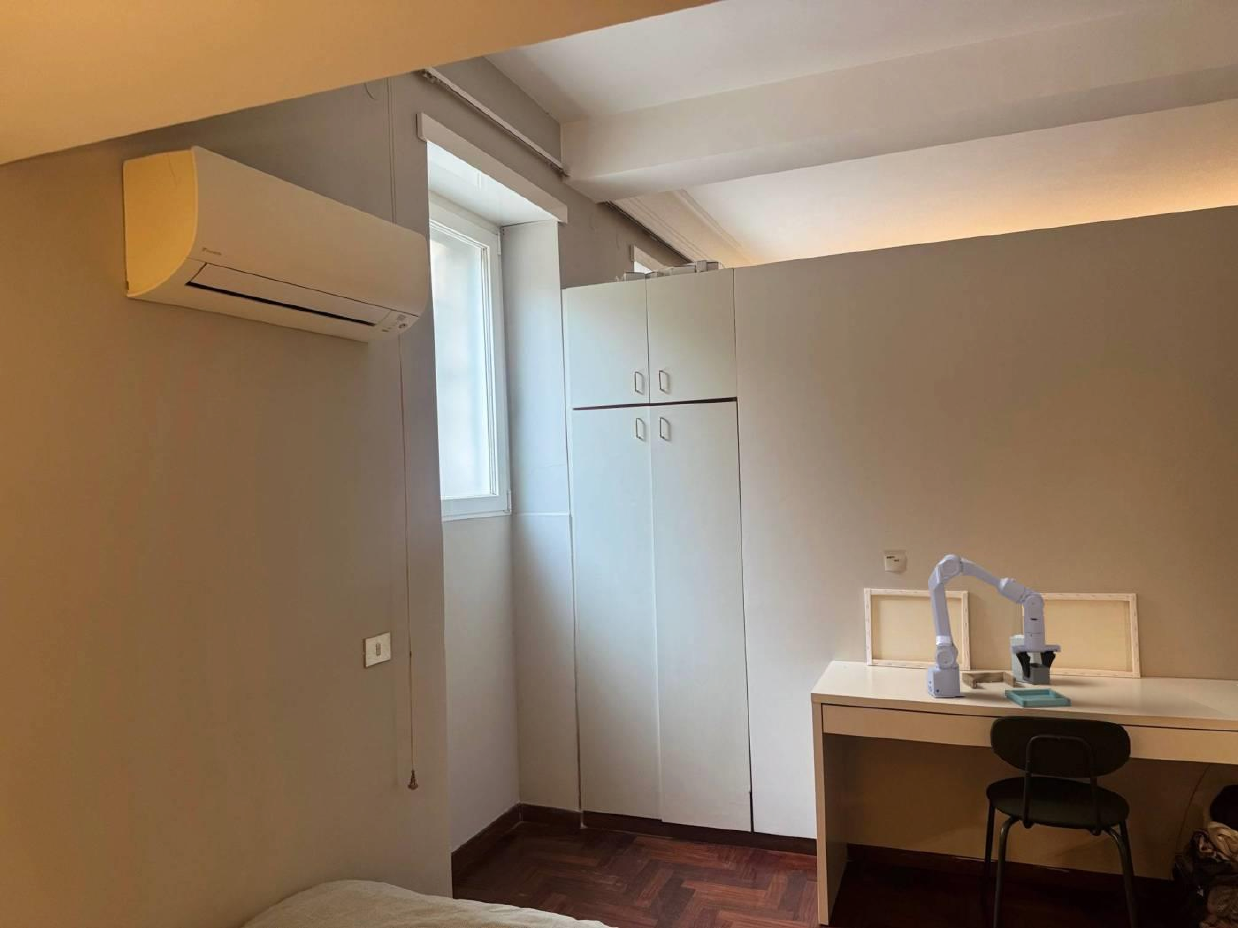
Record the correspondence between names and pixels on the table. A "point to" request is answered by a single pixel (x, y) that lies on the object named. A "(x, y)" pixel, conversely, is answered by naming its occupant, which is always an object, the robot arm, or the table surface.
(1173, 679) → the table surface
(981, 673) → the bay
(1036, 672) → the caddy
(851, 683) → the table surface
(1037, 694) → the tray
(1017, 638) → the skincare box
